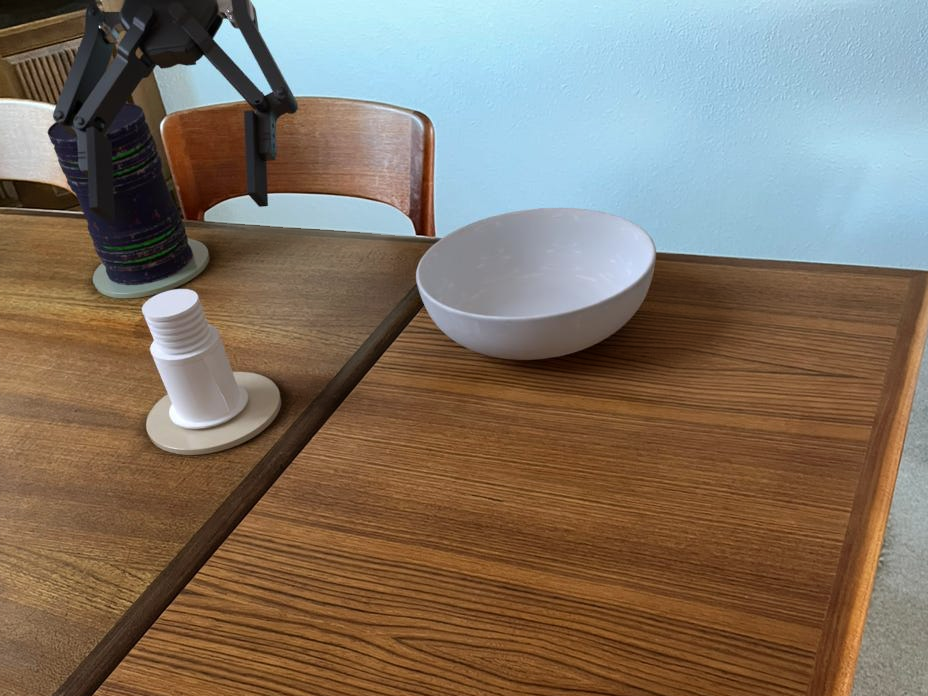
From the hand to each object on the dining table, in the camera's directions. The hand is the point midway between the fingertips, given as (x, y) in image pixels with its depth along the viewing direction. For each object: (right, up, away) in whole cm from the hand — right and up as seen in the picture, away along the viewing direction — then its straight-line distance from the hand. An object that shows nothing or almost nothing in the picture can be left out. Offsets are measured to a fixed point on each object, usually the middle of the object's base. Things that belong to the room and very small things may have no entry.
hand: (179, 207), depth 80 cm
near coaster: (+1, -16, +6) cm, 17 cm away
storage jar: (-12, +6, +28) cm, 31 cm away
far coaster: (-12, +6, +28) cm, 31 cm away
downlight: (+1, -15, +6) cm, 16 cm away
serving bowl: (+30, -7, +9) cm, 33 cm away
